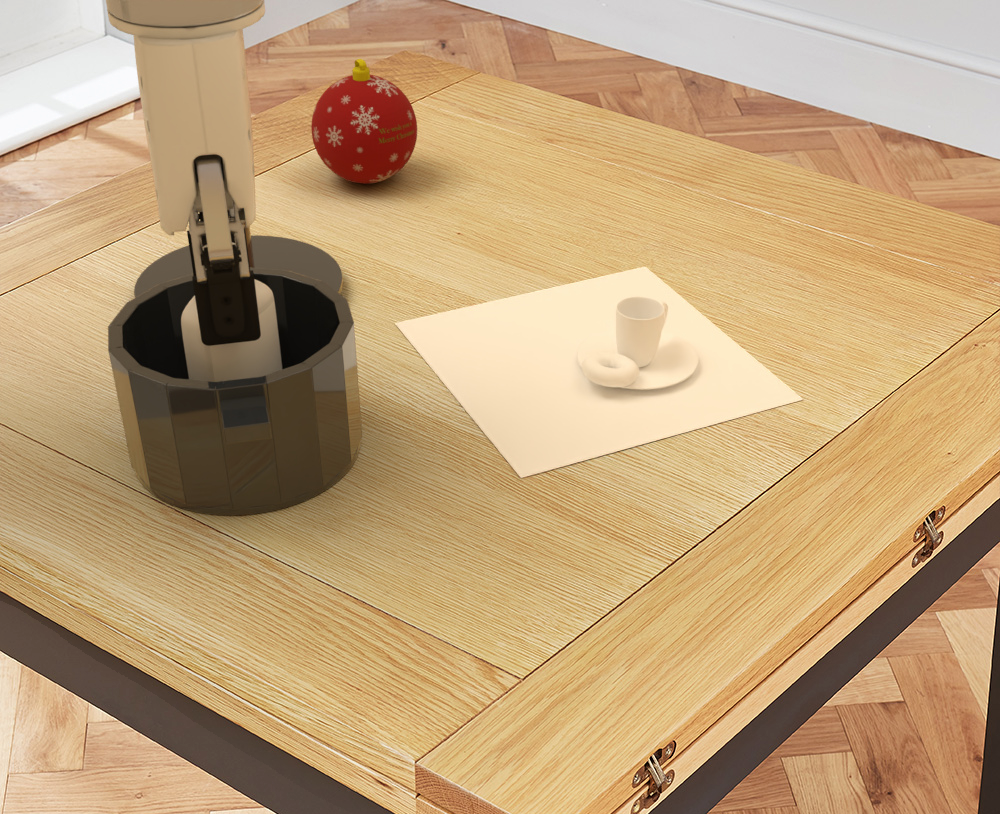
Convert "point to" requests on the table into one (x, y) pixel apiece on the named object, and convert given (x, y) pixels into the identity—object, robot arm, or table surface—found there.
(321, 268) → the lid
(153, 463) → the dark grey open cylinder
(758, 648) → the table surface
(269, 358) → the eye dropper bottle
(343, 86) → the christmas ornament
